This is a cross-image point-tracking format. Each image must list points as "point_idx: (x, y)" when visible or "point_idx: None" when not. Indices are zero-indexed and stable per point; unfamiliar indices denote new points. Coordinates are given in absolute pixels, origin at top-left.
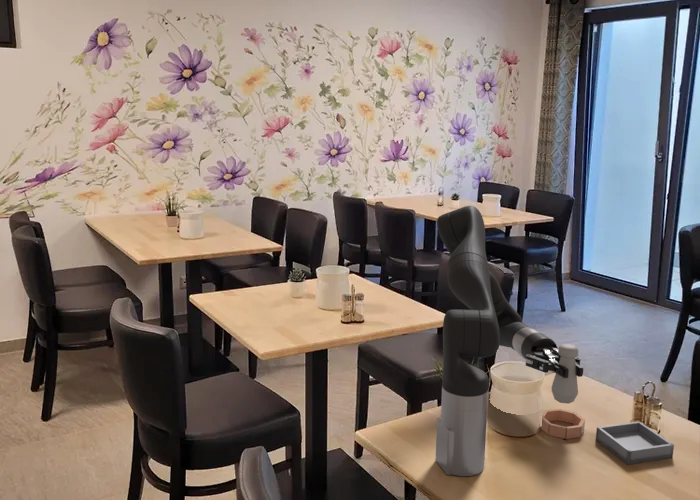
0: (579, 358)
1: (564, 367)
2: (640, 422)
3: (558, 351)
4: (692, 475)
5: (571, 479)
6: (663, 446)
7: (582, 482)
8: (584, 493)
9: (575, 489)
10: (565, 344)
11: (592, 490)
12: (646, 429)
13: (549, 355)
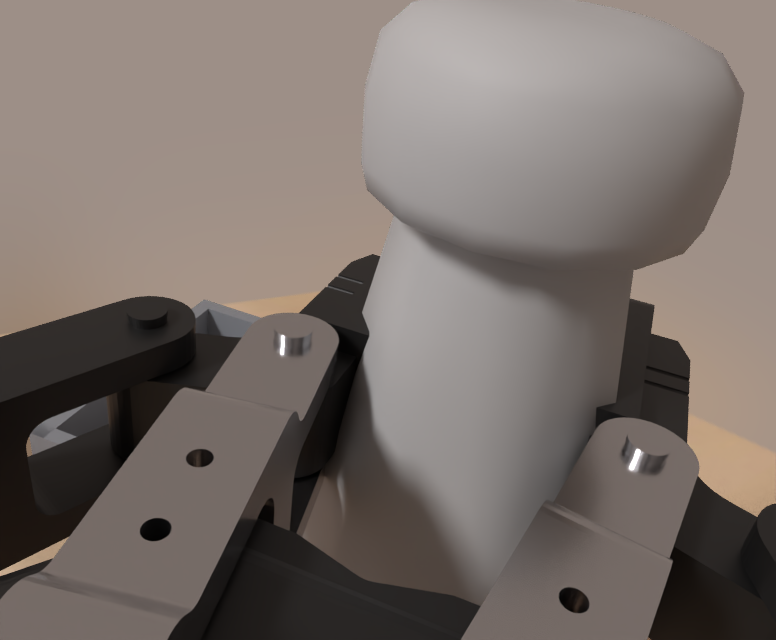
0: (119, 311)
1: (627, 321)
2: (44, 424)
3: (717, 196)
4: (285, 299)
5: (741, 507)
6: (252, 316)
7: (705, 474)
8: (744, 443)
9: (766, 470)
10: (587, 23)
11: (700, 435)
12: (105, 397)
13: (611, 590)
